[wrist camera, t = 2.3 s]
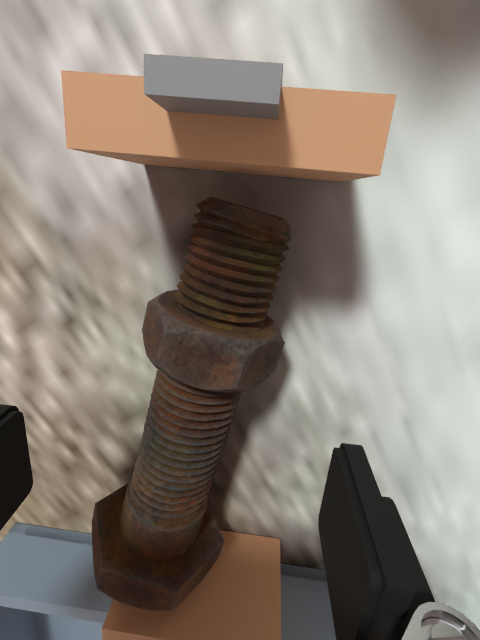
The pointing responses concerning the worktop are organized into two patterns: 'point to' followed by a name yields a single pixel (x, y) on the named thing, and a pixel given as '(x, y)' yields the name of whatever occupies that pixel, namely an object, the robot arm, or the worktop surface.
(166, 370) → the bolt
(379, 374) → the worktop surface
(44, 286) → the worktop surface
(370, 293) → the worktop surface
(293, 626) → the tray
